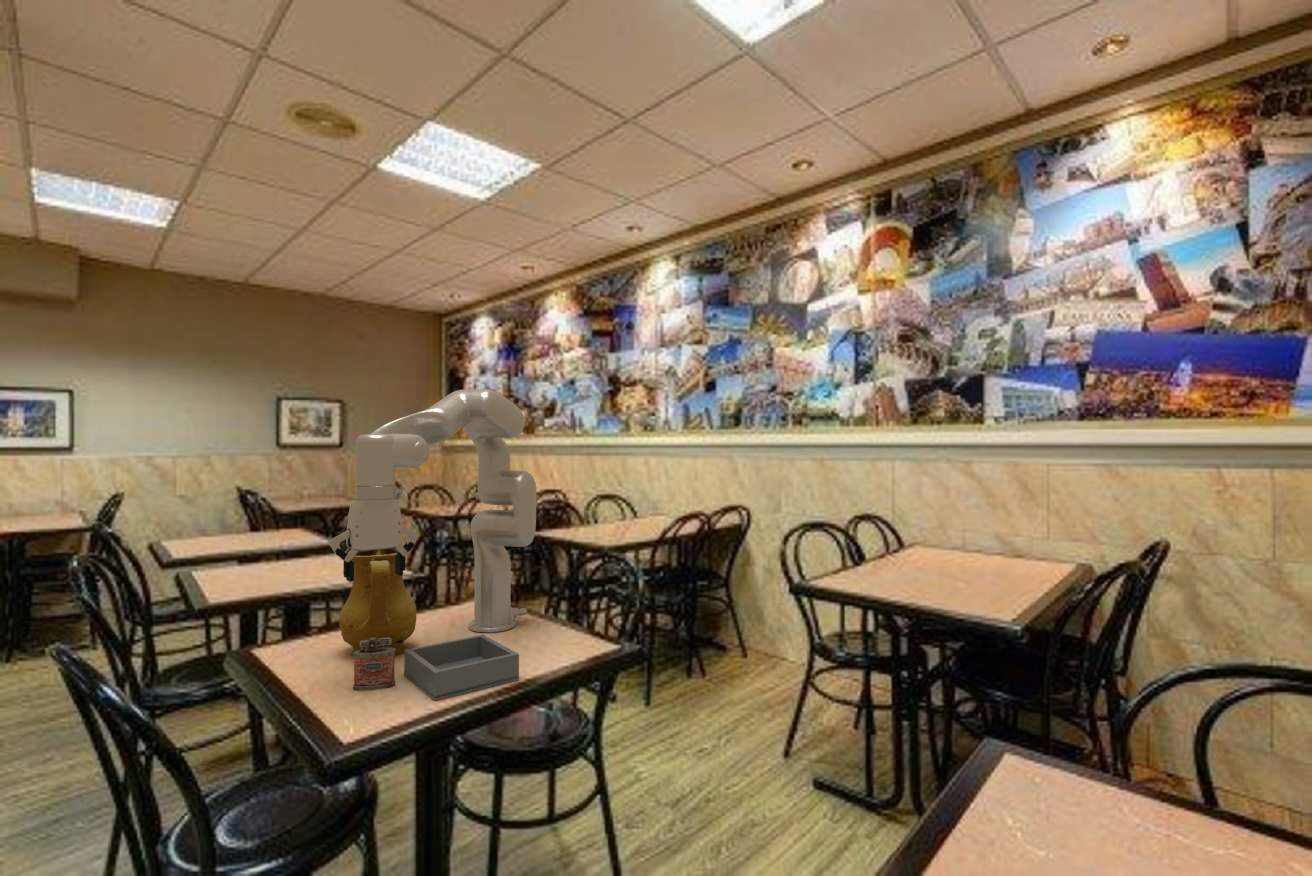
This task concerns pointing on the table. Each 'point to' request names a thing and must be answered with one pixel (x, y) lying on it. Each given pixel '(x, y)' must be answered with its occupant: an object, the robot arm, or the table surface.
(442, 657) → the bin
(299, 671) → the table surface
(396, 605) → the pitcher
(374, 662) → the lighter
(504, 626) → the robot arm
